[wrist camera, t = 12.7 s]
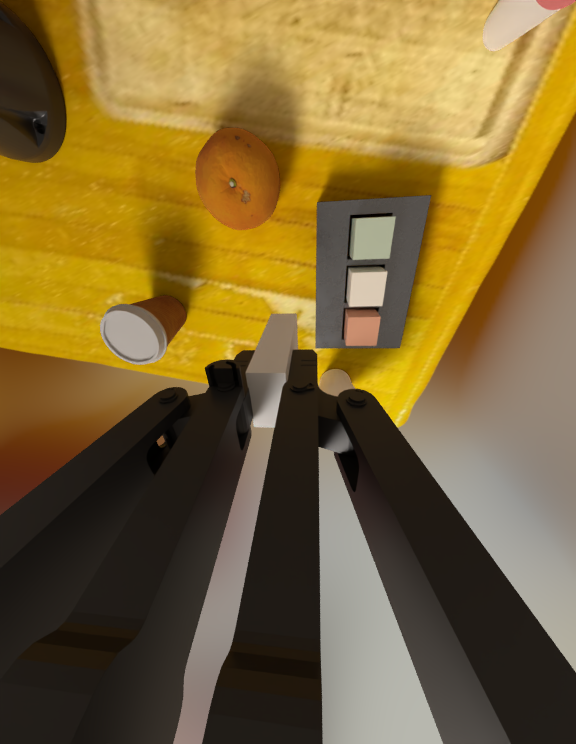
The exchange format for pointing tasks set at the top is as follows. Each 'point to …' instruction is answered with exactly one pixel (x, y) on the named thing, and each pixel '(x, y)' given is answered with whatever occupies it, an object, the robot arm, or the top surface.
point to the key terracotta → (361, 326)
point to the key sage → (371, 237)
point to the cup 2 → (517, 19)
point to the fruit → (237, 178)
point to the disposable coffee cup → (142, 328)
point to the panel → (335, 260)
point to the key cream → (365, 285)
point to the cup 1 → (335, 382)
